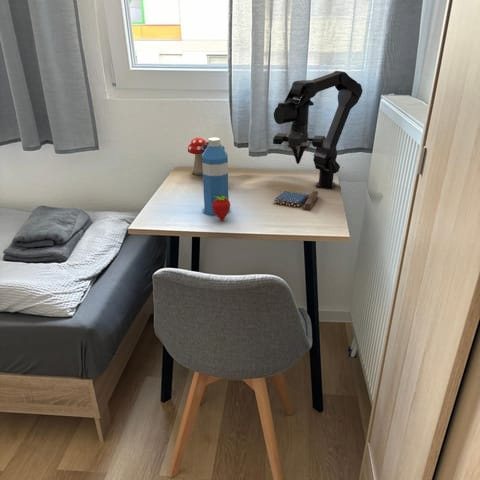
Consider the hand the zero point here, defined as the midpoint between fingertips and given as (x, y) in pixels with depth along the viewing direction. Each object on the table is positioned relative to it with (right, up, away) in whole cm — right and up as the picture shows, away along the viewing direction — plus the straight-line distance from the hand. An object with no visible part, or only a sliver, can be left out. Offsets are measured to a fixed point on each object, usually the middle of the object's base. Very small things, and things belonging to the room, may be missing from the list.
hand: (298, 163), depth 184 cm
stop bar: (+5, -16, -3) cm, 17 cm away
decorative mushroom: (-39, +5, +29) cm, 49 cm away
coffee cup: (-33, -1, +21) cm, 39 cm away
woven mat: (-3, -15, -1) cm, 15 cm away
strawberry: (-28, -25, -16) cm, 41 cm away
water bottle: (-30, -20, -8) cm, 37 cm away
